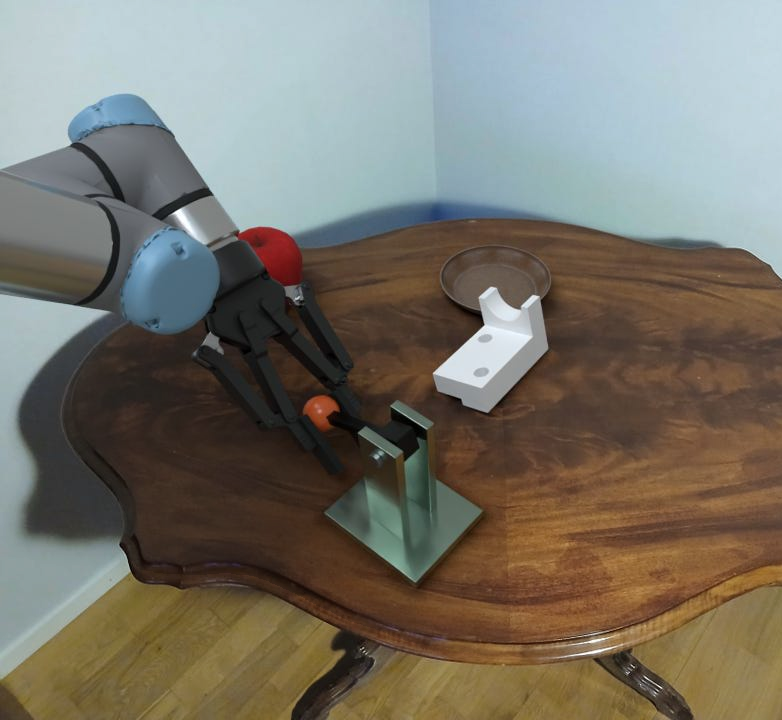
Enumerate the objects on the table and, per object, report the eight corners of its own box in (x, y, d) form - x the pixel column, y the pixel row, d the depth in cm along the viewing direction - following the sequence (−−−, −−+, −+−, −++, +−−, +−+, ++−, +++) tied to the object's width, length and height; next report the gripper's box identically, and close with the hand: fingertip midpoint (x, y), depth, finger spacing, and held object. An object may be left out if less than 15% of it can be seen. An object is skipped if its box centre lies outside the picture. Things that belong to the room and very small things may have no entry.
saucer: (462, 249, 105) (462, 234, 103) (561, 272, 102) (563, 256, 100) (422, 312, 95) (422, 295, 93) (531, 339, 92) (532, 323, 90)
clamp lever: (303, 434, 72) (289, 405, 70) (330, 413, 74) (317, 384, 72) (400, 473, 63) (387, 441, 61) (428, 448, 65) (416, 416, 63)
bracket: (501, 337, 93) (490, 286, 89) (548, 348, 89) (539, 296, 85) (439, 397, 85) (424, 345, 81) (487, 412, 81) (474, 358, 77)
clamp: (325, 519, 72) (304, 428, 62) (394, 457, 78) (385, 365, 68) (416, 589, 67) (409, 502, 57) (483, 517, 73) (486, 426, 63)
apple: (301, 329, 92) (287, 259, 84) (225, 326, 92) (204, 256, 84) (315, 280, 99) (304, 212, 92) (245, 278, 99) (227, 210, 92)
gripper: (265, 232, 75) (393, 414, 80) (120, 312, 66) (274, 514, 70) (292, 205, 69) (428, 404, 74) (137, 290, 60) (304, 512, 64)
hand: (353, 457), depth 72 cm, fingers closed on clamp lever, 4 cm apart
